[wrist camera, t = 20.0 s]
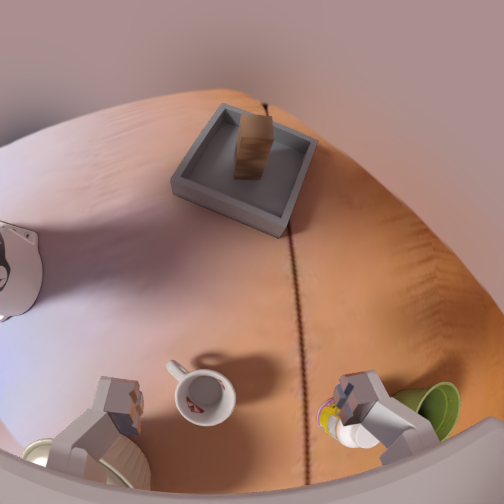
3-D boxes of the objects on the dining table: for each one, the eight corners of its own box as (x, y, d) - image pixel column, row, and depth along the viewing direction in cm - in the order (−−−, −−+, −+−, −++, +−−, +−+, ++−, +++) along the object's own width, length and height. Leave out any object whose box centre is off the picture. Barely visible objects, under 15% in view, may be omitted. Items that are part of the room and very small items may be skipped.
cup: (156, 377, 40) (145, 385, 33) (189, 341, 43) (185, 342, 35) (209, 421, 39) (209, 437, 32) (242, 386, 42) (249, 395, 34)
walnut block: (233, 179, 51) (241, 136, 40) (233, 157, 52) (241, 113, 41) (260, 180, 52) (274, 139, 40) (259, 159, 53) (272, 116, 42)
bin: (173, 194, 50) (170, 179, 45) (220, 119, 56) (222, 102, 51) (278, 238, 50) (285, 227, 45) (310, 155, 56) (318, 140, 52)
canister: (97, 390, 38) (28, 416, 18) (187, 459, 37) (176, 531, 17) (52, 452, 32) (-12, 492, 12) (133, 515, 31) (105, 583, 11)
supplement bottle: (353, 396, 44) (395, 408, 31) (347, 431, 41) (387, 451, 29) (318, 396, 43) (354, 411, 31) (312, 432, 41) (345, 457, 29)
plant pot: (392, 447, 41) (427, 462, 30) (364, 409, 43) (401, 421, 32) (430, 404, 44) (468, 410, 34) (407, 365, 46) (447, 366, 36)
